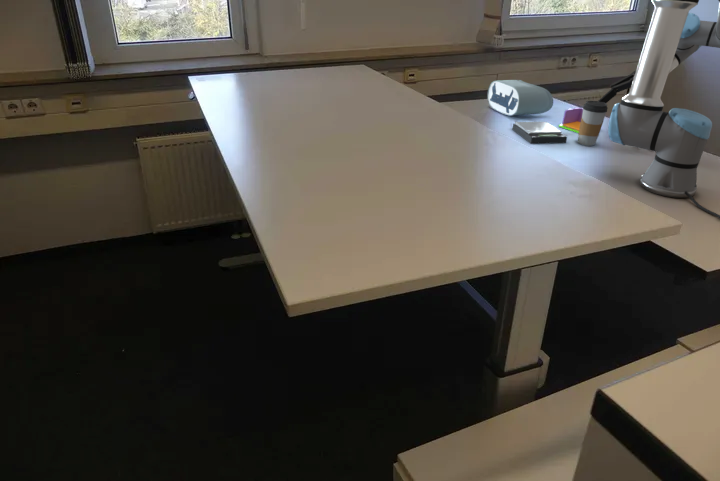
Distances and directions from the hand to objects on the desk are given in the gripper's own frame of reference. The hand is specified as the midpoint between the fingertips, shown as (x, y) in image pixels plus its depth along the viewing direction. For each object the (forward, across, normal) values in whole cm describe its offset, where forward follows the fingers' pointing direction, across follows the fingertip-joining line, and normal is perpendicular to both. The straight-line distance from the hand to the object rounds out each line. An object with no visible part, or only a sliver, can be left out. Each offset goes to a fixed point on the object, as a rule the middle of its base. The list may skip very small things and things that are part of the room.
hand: (609, 109), depth 193 cm
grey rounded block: (+20, +42, +1) cm, 46 cm away
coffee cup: (+13, 0, -5) cm, 14 cm away
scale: (+24, +9, +6) cm, 26 cm away
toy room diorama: (+8, +18, -10) cm, 22 cm away
